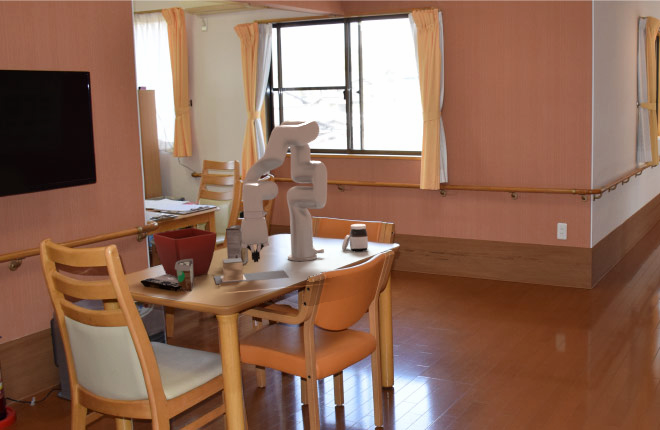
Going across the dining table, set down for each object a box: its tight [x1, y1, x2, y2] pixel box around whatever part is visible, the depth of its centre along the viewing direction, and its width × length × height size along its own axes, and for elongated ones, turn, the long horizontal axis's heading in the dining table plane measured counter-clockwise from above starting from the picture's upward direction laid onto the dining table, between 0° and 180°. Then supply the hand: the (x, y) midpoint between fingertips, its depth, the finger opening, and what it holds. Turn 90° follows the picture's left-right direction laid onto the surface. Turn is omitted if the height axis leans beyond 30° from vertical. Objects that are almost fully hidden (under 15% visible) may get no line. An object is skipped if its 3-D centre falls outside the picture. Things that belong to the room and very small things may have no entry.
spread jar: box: [341, 223, 369, 253], centre depth 335 cm, size 12×11×12 cm
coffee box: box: [225, 224, 249, 266], centre depth 314 cm, size 9×6×16 cm
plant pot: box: [152, 227, 217, 279], centre depth 298 cm, size 19×19×17 cm
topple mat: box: [213, 269, 290, 286], centre depth 288 cm, size 28×13×1 cm, turn 103°
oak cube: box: [221, 258, 244, 281], centre depth 286 cm, size 7×7×7 cm
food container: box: [175, 259, 195, 292], centre depth 275 cm, size 12×6×10 cm, turn 5°
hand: (256, 261), depth 288 cm, fingers closed
